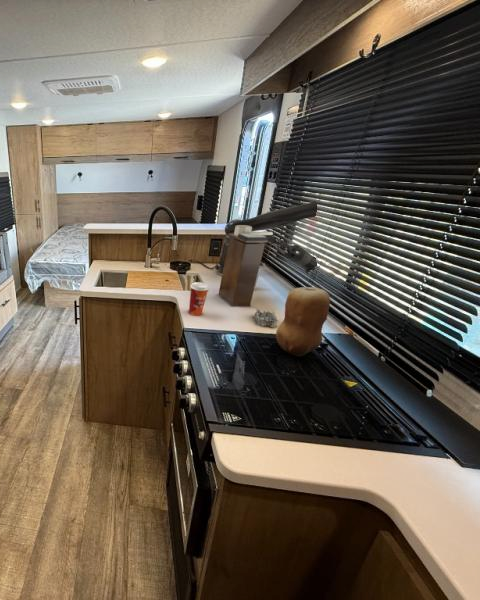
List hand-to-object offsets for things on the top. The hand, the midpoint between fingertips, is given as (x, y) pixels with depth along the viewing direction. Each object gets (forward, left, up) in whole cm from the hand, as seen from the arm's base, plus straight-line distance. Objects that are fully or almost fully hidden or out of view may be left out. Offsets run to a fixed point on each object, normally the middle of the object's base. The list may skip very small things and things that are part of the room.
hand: (274, 239), depth 147 cm
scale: (+8, -17, +3) cm, 19 cm away
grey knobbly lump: (+28, -15, -30) cm, 43 cm away
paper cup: (+18, -41, -30) cm, 54 cm away
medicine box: (-11, -2, -30) cm, 32 cm away
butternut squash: (+52, -19, -30) cm, 63 cm away
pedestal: (+4, -17, -29) cm, 34 cm away
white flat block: (0, -11, +3) cm, 12 cm away
